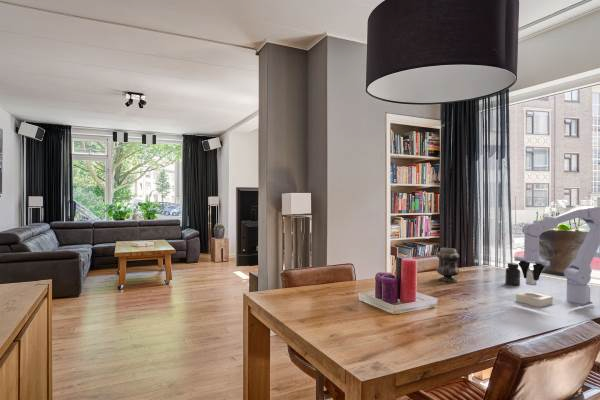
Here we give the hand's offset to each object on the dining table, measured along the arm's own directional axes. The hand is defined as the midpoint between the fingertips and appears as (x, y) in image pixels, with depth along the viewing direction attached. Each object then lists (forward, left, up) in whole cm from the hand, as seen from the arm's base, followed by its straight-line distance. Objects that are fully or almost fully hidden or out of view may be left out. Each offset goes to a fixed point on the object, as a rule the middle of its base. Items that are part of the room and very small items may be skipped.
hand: (531, 279), depth 165 cm
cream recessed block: (+1, +1, -10) cm, 10 cm away
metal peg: (0, 0, -2) cm, 2 cm away
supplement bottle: (-20, -20, -10) cm, 30 cm away
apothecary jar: (0, -45, -10) cm, 46 cm away
